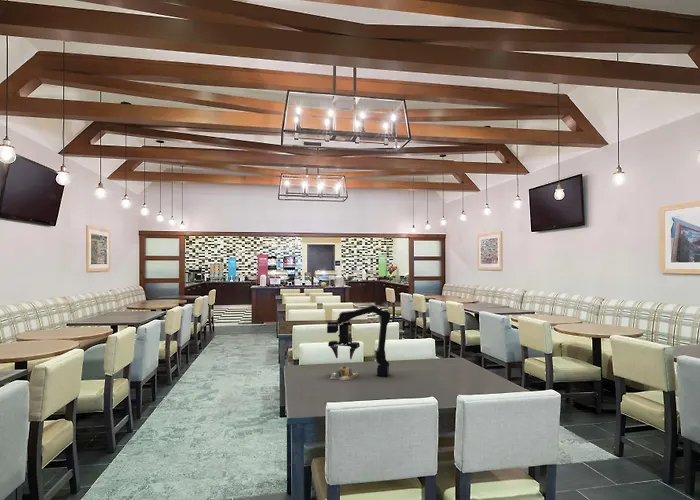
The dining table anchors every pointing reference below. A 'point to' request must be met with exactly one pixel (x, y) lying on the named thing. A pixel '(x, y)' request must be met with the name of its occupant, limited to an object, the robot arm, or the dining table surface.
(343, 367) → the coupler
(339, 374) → the shaft
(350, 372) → the cream mounting plate
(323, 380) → the dining table surface
